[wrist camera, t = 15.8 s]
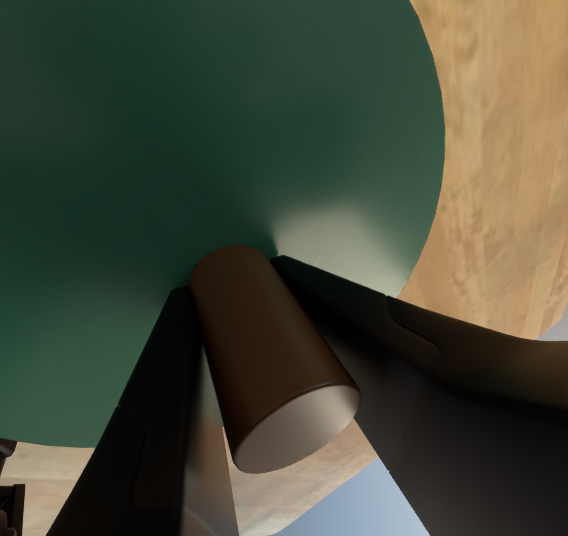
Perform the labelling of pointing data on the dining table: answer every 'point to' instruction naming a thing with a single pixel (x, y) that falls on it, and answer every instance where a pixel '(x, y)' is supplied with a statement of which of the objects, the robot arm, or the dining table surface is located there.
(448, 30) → the dining table surface
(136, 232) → the pot lid
